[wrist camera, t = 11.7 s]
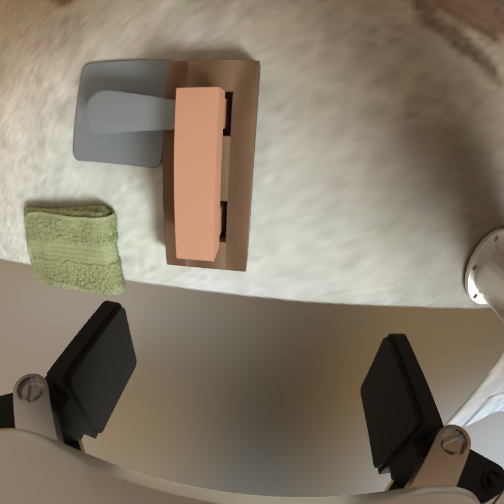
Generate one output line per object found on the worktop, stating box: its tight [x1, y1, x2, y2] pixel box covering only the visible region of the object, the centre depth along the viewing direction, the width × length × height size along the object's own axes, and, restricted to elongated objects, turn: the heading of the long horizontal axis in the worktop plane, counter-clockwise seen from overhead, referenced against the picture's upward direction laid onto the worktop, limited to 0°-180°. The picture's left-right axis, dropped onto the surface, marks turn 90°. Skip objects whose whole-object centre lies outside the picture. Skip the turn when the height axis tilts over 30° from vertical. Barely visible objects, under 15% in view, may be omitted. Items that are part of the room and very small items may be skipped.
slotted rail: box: [163, 60, 260, 272], centre depth 29 cm, size 9×22×3 cm, turn 176°
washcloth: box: [24, 205, 126, 295], centre depth 35 cm, size 13×18×3 cm
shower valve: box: [73, 60, 176, 168], centre depth 26 cm, size 12×6×15 cm
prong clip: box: [174, 87, 229, 261], centre depth 27 cm, size 4×15×8 cm, turn 177°
